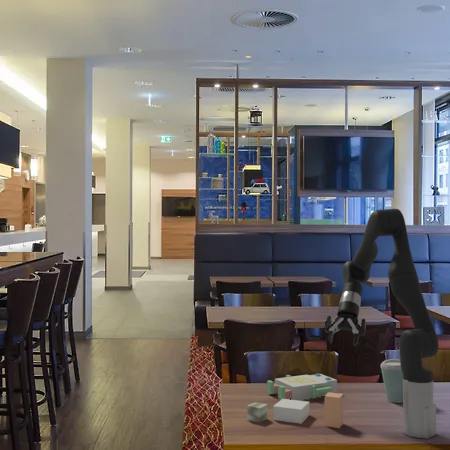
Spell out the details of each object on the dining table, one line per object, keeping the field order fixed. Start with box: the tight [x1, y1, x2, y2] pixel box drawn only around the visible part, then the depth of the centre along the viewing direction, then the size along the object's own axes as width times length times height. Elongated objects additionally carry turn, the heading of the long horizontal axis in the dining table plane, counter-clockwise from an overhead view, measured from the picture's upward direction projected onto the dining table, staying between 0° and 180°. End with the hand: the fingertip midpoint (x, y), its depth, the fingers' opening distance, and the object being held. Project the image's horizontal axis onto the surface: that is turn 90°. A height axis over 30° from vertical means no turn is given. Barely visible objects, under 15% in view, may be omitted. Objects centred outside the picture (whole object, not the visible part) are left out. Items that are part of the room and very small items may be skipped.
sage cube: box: [246, 402, 268, 423], centre depth 199 cm, size 5×5×5 cm
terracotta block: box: [324, 392, 344, 429], centre depth 193 cm, size 5×5×10 cm
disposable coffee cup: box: [380, 358, 403, 404], centre depth 221 cm, size 11×11×15 cm
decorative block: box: [266, 373, 338, 401], centre depth 231 cm, size 26×6×20 cm
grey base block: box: [272, 399, 310, 424], centre depth 201 cm, size 10×10×5 cm
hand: (342, 343), depth 204 cm, fingers open, 8 cm apart
